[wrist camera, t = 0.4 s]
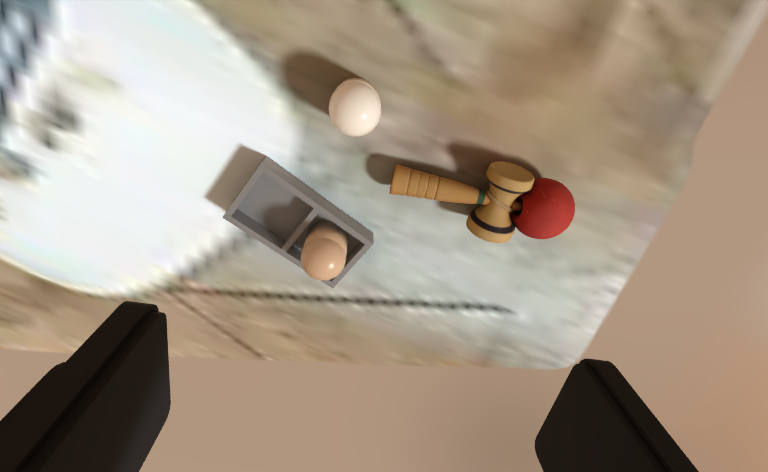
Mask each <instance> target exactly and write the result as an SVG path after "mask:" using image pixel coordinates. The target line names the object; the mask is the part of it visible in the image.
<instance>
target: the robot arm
mask: <svg viewBox="0 0 768 472" xmlns="http://www.w3.org/2000/svg"><path fill="white" fill-rule="evenodd" d="M170 403H171V401H170V382H169V361H168V340H167V320H166V315H165V313H161V312H159V311H158V307H157V306H156V305H154V304H146V303H138V302H130V301H126V302H123V303H122V304H121V305H120V306H119V307H118V308H117V309H116V310H115V311H114V312H113V313H112V314H111V315H110V316H109V317H108V318H107V319H106V320H105V321H104V322H103V323H102V324H101V326H100V327H99V328H98V329H97V330H96V331H95V332H94V333H93V334H92V335H91V336H90V337H89V338H88V339H87V340H86V341H85V342H84V343H83V344H82V346H81V347H80V348H79V349H78V350H77V351H76V352H75V353H74V354H73V355H72V356H71V357H70V358H69V359H68V360H67V361H66V362H63V363H61V364H58V365H56V366H55V367H54V368H52V369H51V370H50V371H49V372H48V373H47V374H46V375H45V376H44V377H43V378H42V379H41V380H40V381H39V382H38V383H37V384H36V385H35V386H34V387H33V388H32V389H31V390H30V391H29V392H28V393H27V394H26V395H25V396H24V397H23V398H22V399H21V400H20V401H19V402H18V403H17V405H16V406H15V407H14V408H13V409H12V410H11V411H10V412H9V413H8V414H7V415H6V416H5V417H4V418H3V419H2V420H1V421H0V472H139V470H140V468H141V467H142V465H143V462H144V461H145V459H146V457H147V455H148V454H149V452H150V450H151V448H152V446H153V444H154V442H155V440H156V438H157V437H158V435H159V433H160V431H161V429H162V427H163V425H164V423H165V421H166V419H167V417H168V414H169V410H170ZM535 450H536V454H537V457H538V459H539V462H540V464H541V466H542V469H543V471H544V472H698V470H697V469H696V468H695V466H694V465H693V464H692V463H691V461H690V460H689V459H688V458H687V457H686V455H685V454H684V452H683V451H682V450H681V449H680V448H679V446H678V445H677V444H676V442H675V441H674V440H673V439H672V437H671V436H670V435H669V434H668V432H667V431H666V430H665V428H664V427H663V426H662V425H661V423H660V422H659V421H658V420H657V418H656V417H655V416H654V415H653V414H652V412H651V411H650V410H649V408H648V407H647V406H646V404H645V403H644V402H643V401H642V399H641V398H640V397H639V396H638V394H637V393H636V392H635V391H634V389H633V388H632V387H631V386H630V384H629V383H628V382H627V381H626V379H625V378H624V377H623V375H622V374H621V373H620V372H619V370H618V369H617V368H616V367H615V366H614V365H613V364H612V363H611V362H609V361H602V360H594V359H584V360H581V361H580V363H579V364H576V365H574V367H573V368H572V370H571V372H570V374H569V376H568V378H567V380H566V381H565V383H564V385H563V387H562V389H561V391H560V393H559V395H558V397H557V399H556V401H555V402H554V404H553V406H552V408H551V410H550V412H549V414H548V416H547V418H546V420H545V422H544V424H543V425H542V427H541V429H540V431H539V433H538V435H537V437H536V440H535Z"/></svg>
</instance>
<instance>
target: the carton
mask: <svg viewBox="0 0 768 472" xmlns="http://www.w3.org/2000/svg"><path fill="white" fill-rule="evenodd" d="M223 218H224V219H226V220H227V221H229V222H230V223H232V224H233V225H235V226H237V227H238V228H240V229H241V230H243V231H244V232H246V233H247V234H249V235H251V236H252V237H254V238H255V239H257V240H258V241H260V242H261V243H263V244H265V245H266V246H268V247H269V248H271V249H272V250H274V251H276V252H277V253H279V254H280V255H282V256H283V257H285V258H286V259H288V260H290V261H291V262H293V263H294V264H296V265H297V266H299V267H300V268H302V269H304V271H305V272H306V273H307V274H308V275H309V276H310V277H312V278H314V279H317V280H321V281H322V282H324V283H325V284H327V285H328V286H330V287H332V288H334V286H335V285H336V284H337V283H338V282H339V281H340V280H341V279H342V278H343V277H344V275H345V274H346V273H347V272H348V271H349V270H350V269H351V268H352V267H353V266H354V264H355V263H356V262H357V261H358V260H359V259H360V258H361V257H362V256H363V255H364V253H365V252H366V251H367V250H368V249H369V248H370V247H371V246H372V245H373V233H372V232H371V231H370V230H368V229H367V228H365V227H364V226H363V225H361V224H360V223H358V222H357V221H356V220H354V219H353V218H352V217H350V216H349V215H347V214H346V213H345V212H343V211H342V210H341V209H339V208H338V207H336V206H335V205H334V204H332V203H331V202H330V201H328V200H327V199H325V198H324V197H323V196H321V195H320V194H318V193H317V192H316V191H314V190H313V189H312V188H310V187H309V186H307V185H306V184H305V183H303V182H302V181H301V180H299V179H298V178H296V177H295V176H294V175H292V174H291V173H289V172H288V171H287V170H285V169H284V168H283V167H281V166H280V165H278V164H277V163H276V162H274V161H273V160H272V159H270V158H269V157H266V158H265V159H264V160H263V161H262V162H261V164H260V165H259V166H258V168H257V169H256V171H255V172H254V173H253V175H252V176H251V178H250V179H249V180H248V182H247V183H246V185H245V186H244V188H243V189H242V190H241V192H240V193H239V195H238V196H237V197H236V199H235V200H234V202H233V203H232V204H231V206H230V207H229V209H228V210H227V212H226V213H225V214H224V216H223Z"/></svg>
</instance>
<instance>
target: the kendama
mask: <svg viewBox="0 0 768 472" xmlns="http://www.w3.org/2000/svg"><path fill="white" fill-rule="evenodd" d="M486 175H487V178H488V180H489V183H490V189H489V190H488V191H483V190H481V189H478V188H475V187H472V186H469V185H467V184H464V183H461V182H458V181H455V180H451V179H448V178H444V177H438V176H437V175H433V174H428V173H425V172H420V171H418V170H415V169H411V168H408V167H405V166H401V165H398V164H396V165H395V168H394V173H393V177H392V182H391V187H390V194H396V195H407V196H412V197H419V198H426V199H434V200H439V201H446V202H454V203H466V204H481V205H482V206H480V207H479V208H477V209H473V210H472V211H470V213H469V216H468V219H467V222H466V225H467V228H468V229H469V230H470V231H471V232H472V233H473V234H474V235H475V236H477V237H479V238H481V239H483V240H485V241H489V242H493V243H504V242H507V241H509V240H510V238H511V236H512V234H513V232H514V230H515V227H516V228H517V229H518V230H519V231H520V232H522V233H523V234H525V235H526V236H528V237H531V238H535V239H548V238H552V237H555V236H557V235H559V234H560V233H562V232H563V231H564V230H566V229H567V228H568V226H569V225H570V223H571V222H572V219H573V217H574V212H575V203H574V199H573V196H572V194H571V192H570V191H569V190H568V189H567V188H566V187H565V186H564V185H563V184H561V183H560V182H558V181H556V180H552V179H548V178H538V179H534V176H533V175H532V174H531V173H530V172H529V171H528V170H526V169H524V168H523V167H520V166H518V165H515V164H512V163H508V162H492V163H491V164H490V165H489V167H488V170H487V172H486Z"/></svg>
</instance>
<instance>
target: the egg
mask: <svg viewBox="0 0 768 472" xmlns="http://www.w3.org/2000/svg"><path fill="white" fill-rule="evenodd" d="M329 115H330V119H331V121H332V123H333V124H334V126H335V127H336V128H337V129H338V130H339V131H340V132H342V133H343V134H345V135H348V136H353V137H358V136H363V135H365V134H368V133H369V132H371V131H372V130H373V129H374V128H375V127H376V125H377V124H378V122H379V119H380V116H381V103H380V98H379V94H378V92H377V90H376V88H375V87H374V86H373V85H372V84H371V83H370V82H369V81H367V80H365V79H362V78H350V79H347V80H345V81H343V82H342V83H341V84H340V85H339V86H338V87H337V88H336V90H335V91H334V93H333V94H332V96H331V98H330V102H329Z"/></svg>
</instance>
